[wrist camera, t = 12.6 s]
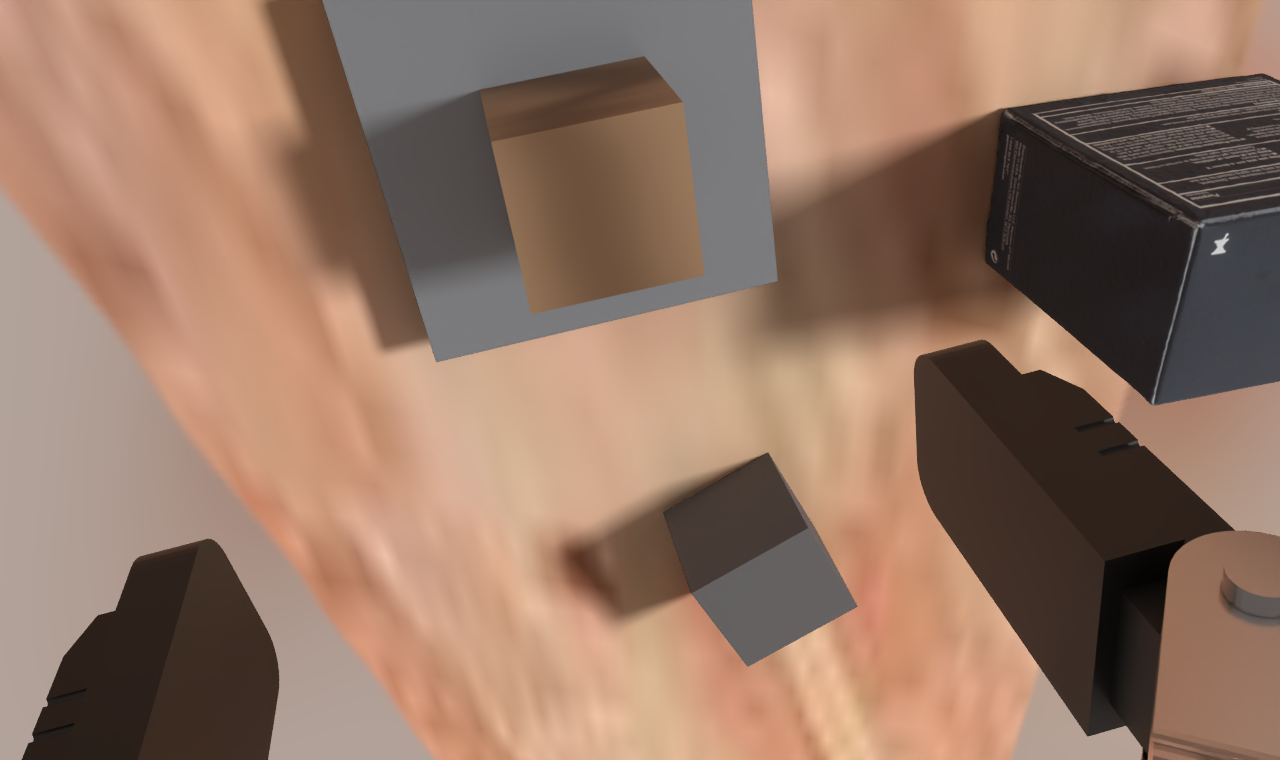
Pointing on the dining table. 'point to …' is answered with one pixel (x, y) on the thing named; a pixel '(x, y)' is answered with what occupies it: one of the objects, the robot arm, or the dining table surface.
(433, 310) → the slate coaster
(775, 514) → the charcoal block
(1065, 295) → the small box
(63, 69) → the dining table surface
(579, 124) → the walnut cube
